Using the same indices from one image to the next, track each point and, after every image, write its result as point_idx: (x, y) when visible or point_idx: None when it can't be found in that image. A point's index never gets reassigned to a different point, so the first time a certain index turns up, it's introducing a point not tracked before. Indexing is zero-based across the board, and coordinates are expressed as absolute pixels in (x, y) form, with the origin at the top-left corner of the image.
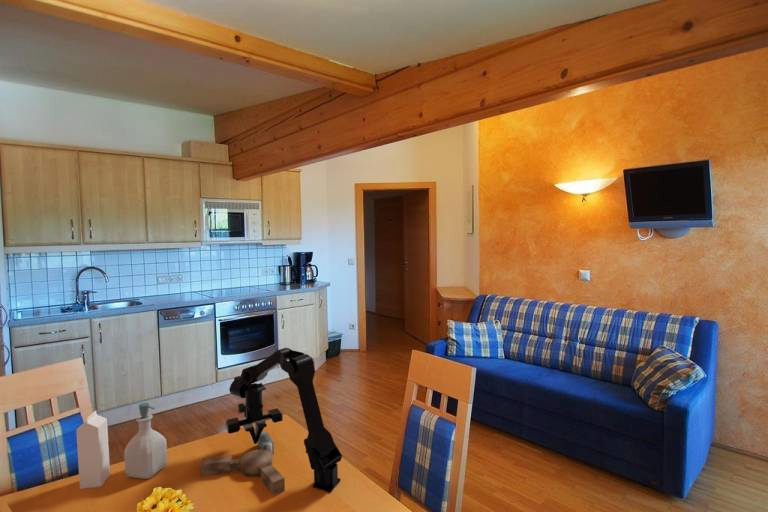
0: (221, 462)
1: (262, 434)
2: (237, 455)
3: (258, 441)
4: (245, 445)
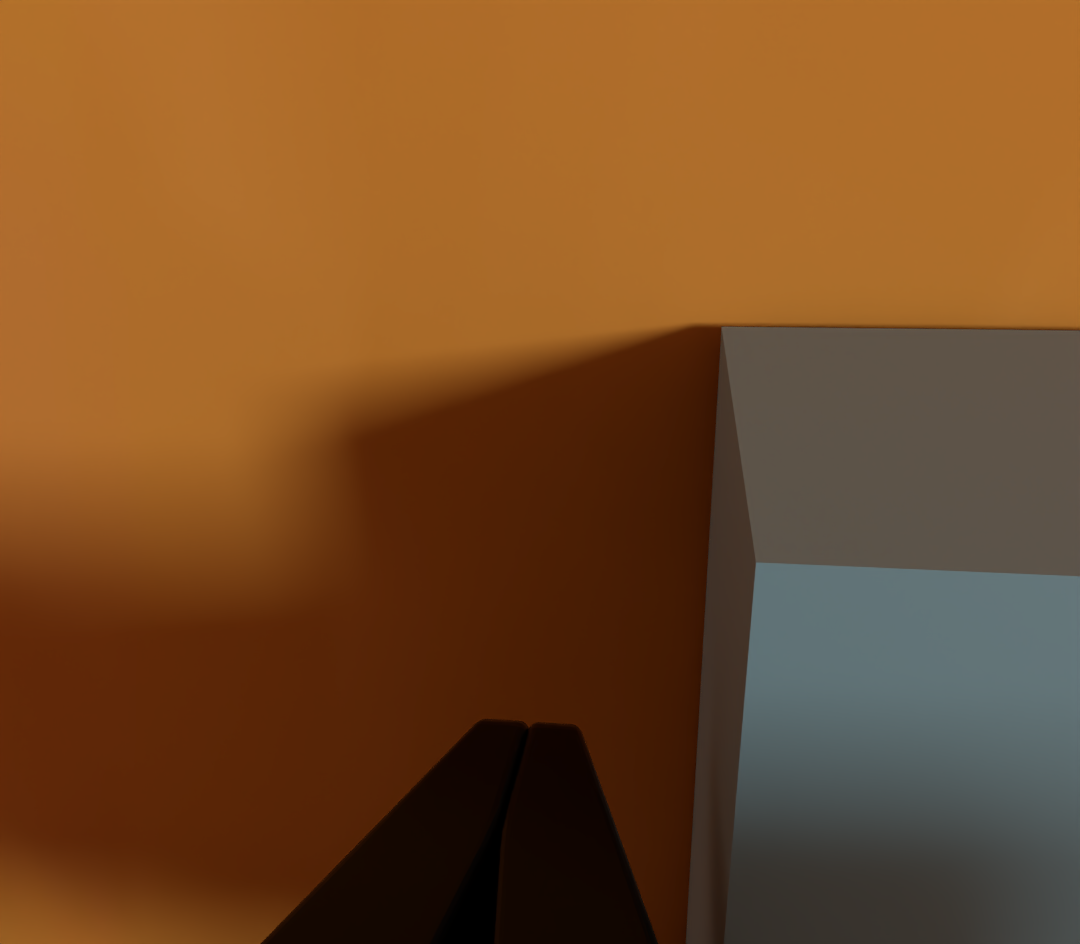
0: None
1: (1017, 790)
2: (39, 599)
3: (719, 581)
4: (274, 96)
